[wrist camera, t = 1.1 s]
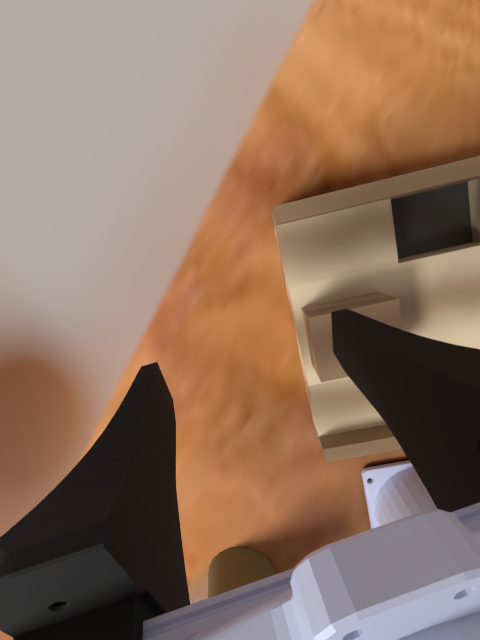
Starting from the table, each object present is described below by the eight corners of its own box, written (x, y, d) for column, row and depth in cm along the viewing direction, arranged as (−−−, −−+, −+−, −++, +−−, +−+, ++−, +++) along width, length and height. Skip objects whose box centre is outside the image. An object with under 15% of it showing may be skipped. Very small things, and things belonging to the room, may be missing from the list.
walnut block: (386, 349, 21) (407, 365, 18) (311, 364, 22) (321, 382, 19) (377, 291, 21) (398, 298, 18) (301, 308, 21) (308, 317, 18)
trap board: (580, 381, 24) (643, 407, 20) (314, 430, 26) (325, 462, 22) (577, 138, 21) (653, 112, 17) (271, 213, 22) (275, 205, 18)
